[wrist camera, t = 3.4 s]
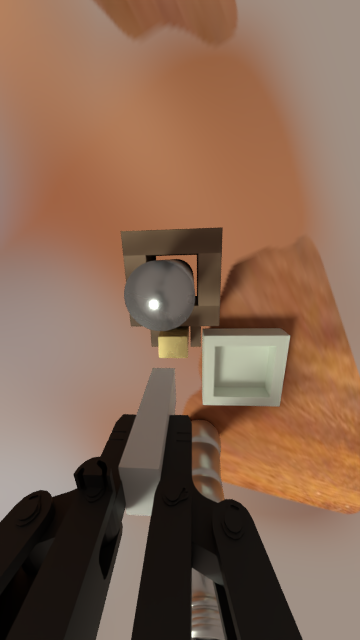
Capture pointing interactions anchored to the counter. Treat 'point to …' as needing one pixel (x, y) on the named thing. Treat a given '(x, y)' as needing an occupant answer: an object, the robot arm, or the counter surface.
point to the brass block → (174, 343)
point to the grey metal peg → (160, 294)
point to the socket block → (182, 242)
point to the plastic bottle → (209, 484)
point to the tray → (243, 366)
